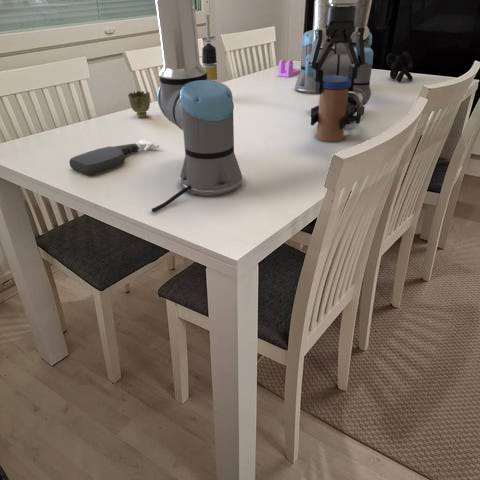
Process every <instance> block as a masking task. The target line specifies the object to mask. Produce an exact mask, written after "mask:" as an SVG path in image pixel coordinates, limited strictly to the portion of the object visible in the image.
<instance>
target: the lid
mask: <svg viewBox="0 0 480 480" xmlns="http://www.w3.org/2000/svg"><path fill="white" fill-rule="evenodd" d="M351 80H352V79H351V78H349V77H346V76H338V75H330V76H323V81H322V88H327V89H345V88H349V87H351Z"/></svg>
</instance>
